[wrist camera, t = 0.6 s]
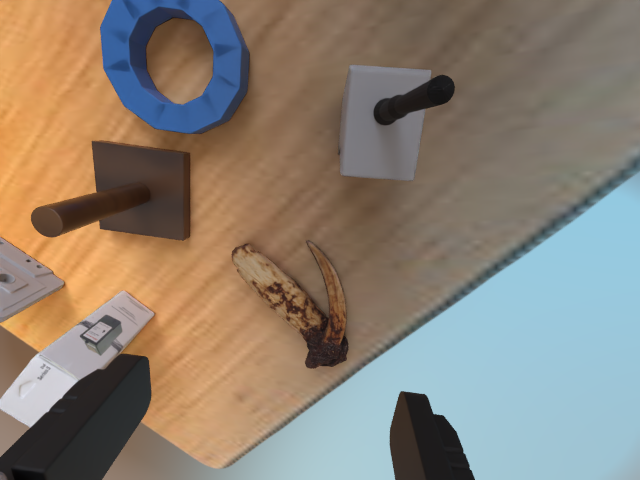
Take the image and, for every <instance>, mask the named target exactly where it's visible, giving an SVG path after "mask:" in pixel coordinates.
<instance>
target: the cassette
mask: <svg viewBox="0 0 640 480" xmlns="http://www.w3.org/2000/svg"><path fill="white" fill-rule="evenodd" d="M52 272H53V271H51V270H50V269H48V268H47V267H45V266H44V265H42V264H41V263H39V262H38V261H36V260H34V259H33V258H31V257H30V256H28V255H27V254H25V253H24V252H22V251H21V250H19V249H18V248H16V247H15V246H13V245H12V244H10V243H9V242H7V241H6V240H4V239H2V238H1V237H0V323H1V322H3V321H5V320H7V319H9V318H11V317H12V316H14V315H16V314H18V313H19V312H21V311H23V310H25V309H26V308H28V307H30V306H32V305H33V304H35V303H37V302H39V301H40V300H42V299H44V298H46V297H47V296H49V295H51V294H53V293H54V292H56V291H58V290H60V289H61V288H62V287H63V285H64V281H62V280H61V279H59V278H58V277H56V276H55V275H53V273H52Z"/></svg>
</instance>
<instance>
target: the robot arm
mask: <svg viewBox="0 0 640 480" xmlns="http://www.w3.org/2000/svg"><path fill="white" fill-rule="evenodd" d="M150 401H151V381H150V368H149V360H148V358H147V357H145V356H138V355H130V354H120V355H118V356H117V357H116V358H115V359H114V360H113V361H112V362H111V363H110V364H109V365H108V366H107V367H106V368H105V369H97V370H95V371H93V372H92V373H90V374H88V375H87V376H85V377H83V378H82V379H80V380H78V381H77V382H76V383H75V384H74V385H73V386H72V387H71V388H70V389H69V390H68V391H67V392H66V393H65V394H64V395H63V397H62V399H59V400H58V401H57V402H56V403H55V404H54V405H53V406H52V407H51V408H50V410H49V412H46V413H45V414H44V415H43V416H42V417H41V418H40V419H39V420H38V421H37V422H36V423H35V424H34V425H33V426H32V427H31V428H30V429H29V430H28V431H27V432H25V433H24V435H22V436H21V437H20V438H19V439H18V440H17V441H16V442H15V443H14V445H12V446H11V447H10V448H9V449H8V450H7V451H6V452H5V453H4V454H3V455H2V456H1V457H0V480H102V479H103V477H104V476H105V474H106V473H107V471H108V470H109V468H110V466H111V465H112V464H113V462H114V461H115V459H116V458H117V456H118V455H119V453H120V452H121V450H122V449H123V447H124V446H125V444H126V443H127V441H128V439H129V438H130V437H131V435H132V433H133V432H134V431H135V429H136V428H137V426H138V425H139V423H140V422H141V420H142V419H143V417H144V415H145V414H146V412H147V410H148V407H149V404H150ZM390 450H391V456H392V461H393V468H394V474H395V480H475V479H474V476H473V473H472V471H471V470H470V468H469V463H468V461H467V458H466V455H465V454H464V453H463V448H462V445H461V443H460V440H459V438H458V435H457V432H456V431H455V430H454V428H453V427H452V426H451V425H450V423H449V422H448V421H447V420H446V419H445V417H444V416H443V415H436V414H433V412H432V409H431V406H430V403H429V400H428V398H427V396H426V395H425V394H418V393H411V392H403V391H401V392H400V394H399V397H398V401H397V405H396V408H395V412H394V416H393V420H392V424H391V428H390Z"/></svg>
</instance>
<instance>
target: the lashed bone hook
mask: <svg viewBox="0 0 640 480" xmlns="http://www.w3.org/2000/svg"><path fill="white" fill-rule="evenodd" d="M306 243H307V245H308V247H309V248H310V250H311V252H312V253H313V255H314V257H315V259H316V261H317V263H318V265H319V268H320V270H321V272H322V275H323V278H324V282H325V286H326V289H327V294H328V299H329V319H328V318H327V317H326V315H325V314H324V313H323V312H322V311H321V310H320V309H319V308H318V307H317V306H316V305H315V303H314V302H313V301H312V300H311V299H310V298H309V297H308V295H307V293H306V292H305V291H303V290H302V289H301V288H300V286H299V285H298V284H297V283H296V282H295V281H294V280H293V279H292V278H290V277H288V276H287V275H285V274H284V273H283V272H282V271H281V270H280V269H279V268H278V267H277V266H276V265H275V264H274V263H273V262H271V261H270V260H268V259H267V258H266V257H265V256H264V255H263V254H262V253H260V252H256V251H255V250H254V249H253V248H252V247H251V245H249V244H245V245H243V246H239V247H236V248H235V249H234V250H233V251H232V261H233V263H234V265H235V266H236V267H237V268H238V269H237V271H238V273H239V274H240V275H241V277H242V278H243V279H244V280H245V281H246V283H247V284H248V285H249V286H250V287H251V288H252V289H253V290H254V291H255V292H256V293H257V294H258V295H259V297H260V298H261V299H262V300H263V301H265V302H266V303H267V304H268V305H269V306H270V307H271V308H272V309H274V310H275V312H276V313H277V314H278V315H279V316H280V317H281V318H282V319H283V320H285V321H286V322H287V323H288V324H289V325H291V326H292V327H293V328H294V329H295V330H296V331H297V332H298V333H300V334H301V335H302V336H303V338H304V339H305V341H306V342H307V348H308V349H309V352H308V355H307V358H306V361H305V364H306V366H307V367H308V368H311V369H312V368H316V367H318V366H330V367H333V366H335V365H337V364H339V363H342V362H343V361H346V360H347V358H346V354H347V352H348V342H347V338H346V337H345V336H344V332H345V327H346V319H347V310H346V302H345V297H344V293H343V289H342V286H341V283H340V280H339V277H338V275H337V273H336V271H335V269H334V267H333V266H332V264H331V262H330V261H329V260H328V258H327V257H326V256H325V254H324V253H323V252H322V251H321V250H320V249H319V248H318V247H317V246H315V245H314V244H313V243H311V242H310V241H306Z"/></svg>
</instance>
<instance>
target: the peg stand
mask: <svg viewBox="0 0 640 480" xmlns="http://www.w3.org/2000/svg"><path fill="white" fill-rule="evenodd" d="M92 150H93V160H94V171H95V181H96V191H97V192H96V193H92V194H88V195H84V196H80V197H76V198H73V199H69V200H65V201H61V202H57V203H53V204H49V205H45V206H41V207H38V208H36V209H35V210H34V211H33V212H32V215H31V221H32V224H33V226H34V228H35V229H36V230H37V231H38V232H39V233H40V234H42V235H44V236H46V237H57V236H59V235H62V234H65V233H67V232H70V231H73V230H75V229H78V228H81V227H83V226H86V225H89V224H91V223H94V222H97V221H99V223H100V229H104V230H111V231H118V232H125V233H132V234H140V235H147V236H154V237H161V238H168V239H175V240H182V241H184V240H186V239H187V238H188V237H190V153H187V152H180V151H173V150H165V149H158V148H151V147H144V146H137V145H130V144H123V143H116V142H109V141H92Z"/></svg>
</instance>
